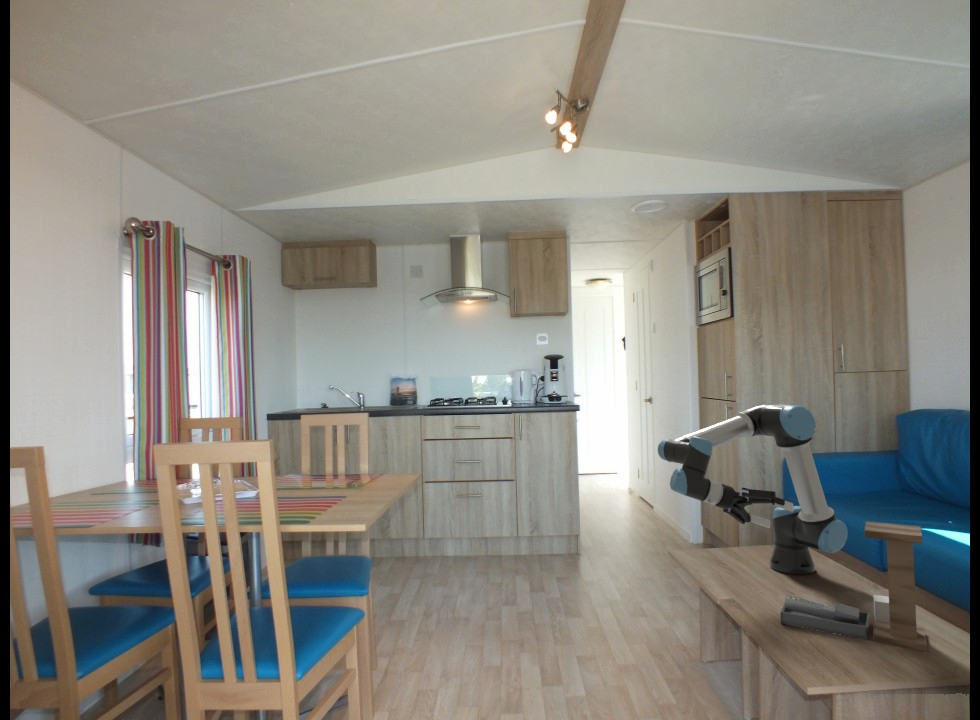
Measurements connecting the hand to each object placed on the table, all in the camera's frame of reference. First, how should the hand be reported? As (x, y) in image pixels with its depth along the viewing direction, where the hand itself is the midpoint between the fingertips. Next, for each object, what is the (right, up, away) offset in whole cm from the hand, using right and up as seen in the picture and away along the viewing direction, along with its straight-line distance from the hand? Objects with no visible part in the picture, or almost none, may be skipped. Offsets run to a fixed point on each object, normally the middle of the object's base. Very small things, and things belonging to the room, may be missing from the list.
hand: (781, 516), depth 199 cm
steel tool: (+3, -24, -19) cm, 31 cm away
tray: (+4, -27, -19) cm, 33 cm away
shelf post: (+18, -26, -29) cm, 43 cm away
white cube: (+23, -27, -17) cm, 39 cm away
